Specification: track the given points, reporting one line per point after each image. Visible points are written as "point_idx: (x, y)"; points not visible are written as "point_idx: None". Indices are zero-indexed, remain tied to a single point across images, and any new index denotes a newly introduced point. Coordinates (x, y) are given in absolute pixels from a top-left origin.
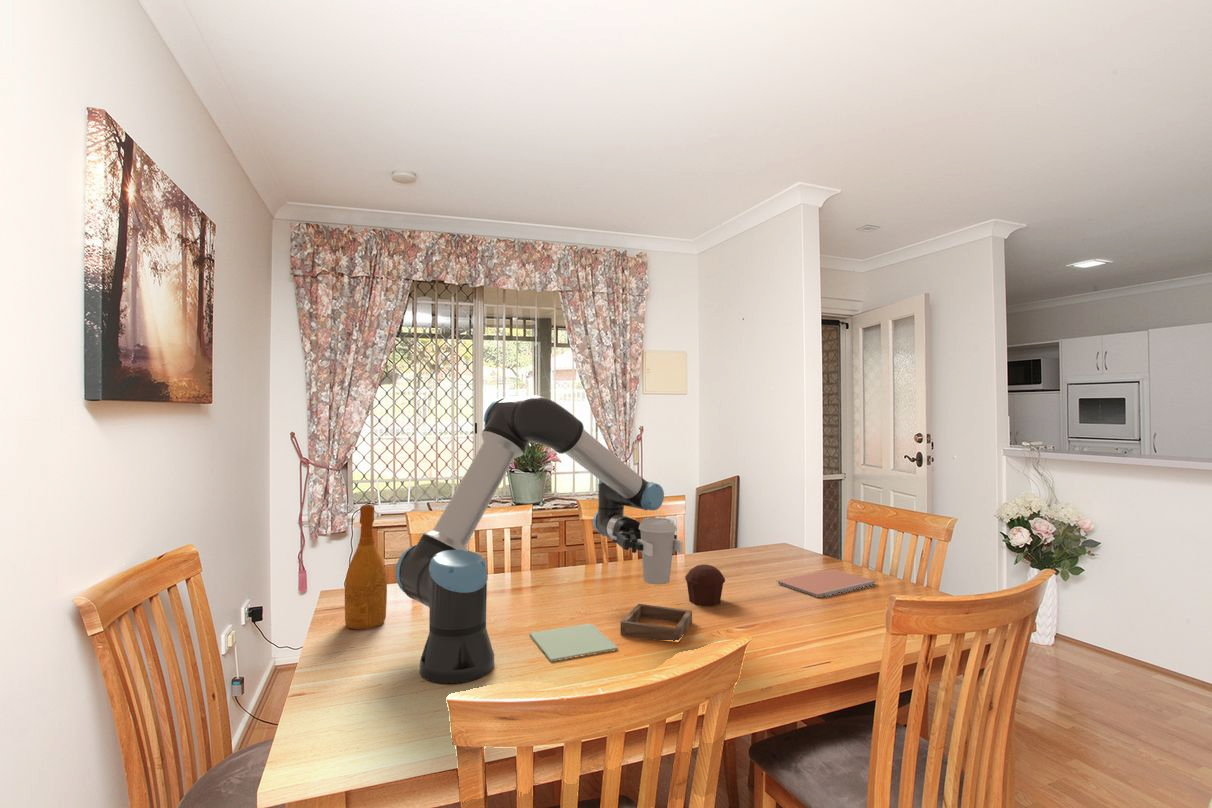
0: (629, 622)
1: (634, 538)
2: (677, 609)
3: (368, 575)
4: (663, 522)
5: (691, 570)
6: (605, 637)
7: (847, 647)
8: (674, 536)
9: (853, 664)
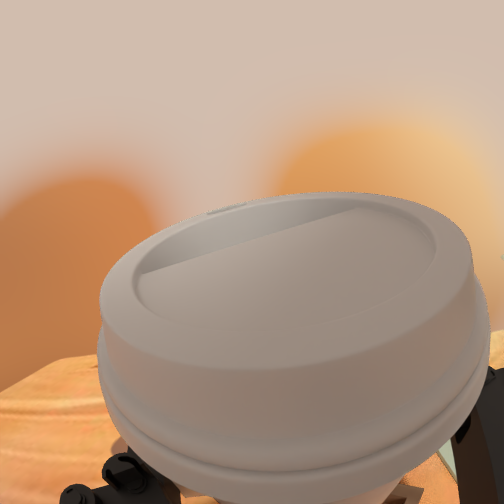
0: (400, 489)
1: (490, 407)
2: None
3: None
4: (228, 250)
5: None
6: (450, 462)
7: (42, 386)
8: (89, 490)
9: (80, 357)
